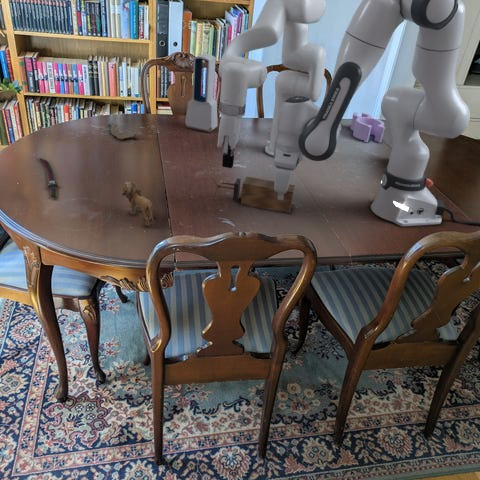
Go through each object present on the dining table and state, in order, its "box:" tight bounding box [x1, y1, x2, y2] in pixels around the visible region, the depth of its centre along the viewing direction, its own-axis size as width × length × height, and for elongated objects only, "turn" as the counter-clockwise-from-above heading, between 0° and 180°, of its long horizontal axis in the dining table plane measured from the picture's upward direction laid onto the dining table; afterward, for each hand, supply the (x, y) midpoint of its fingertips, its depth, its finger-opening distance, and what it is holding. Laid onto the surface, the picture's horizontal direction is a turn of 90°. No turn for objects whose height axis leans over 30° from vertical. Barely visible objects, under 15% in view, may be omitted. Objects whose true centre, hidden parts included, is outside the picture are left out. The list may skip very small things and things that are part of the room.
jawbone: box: [109, 121, 143, 140], centre depth 188 cm, size 9×20×2 cm, turn 50°
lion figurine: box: [119, 181, 159, 227], centre depth 134 cm, size 15×5×9 cm, turn 50°
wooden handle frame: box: [216, 178, 243, 201], centre depth 148 cm, size 20×4×6 cm, turn 78°
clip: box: [349, 112, 386, 143], centre depth 214 cm, size 20×12×7 cm, turn 11°
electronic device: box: [184, 53, 218, 133], centre depth 194 cm, size 12×8×30 cm, turn 71°
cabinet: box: [240, 176, 296, 214], centre depth 147 cm, size 16×5×7 cm, turn 78°
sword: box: [40, 158, 59, 198], centre depth 151 cm, size 31×3×1 cm, turn 26°
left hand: (227, 166), depth 145 cm, fingers closed
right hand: (282, 193), depth 146 cm, fingers open, 6 cm apart
